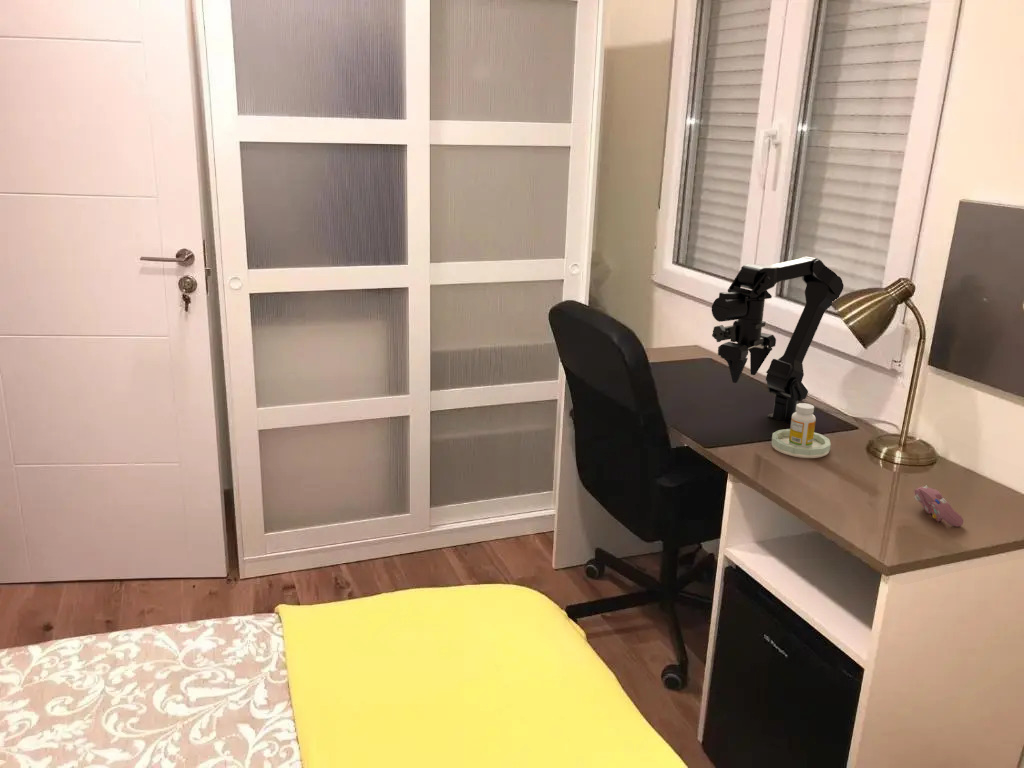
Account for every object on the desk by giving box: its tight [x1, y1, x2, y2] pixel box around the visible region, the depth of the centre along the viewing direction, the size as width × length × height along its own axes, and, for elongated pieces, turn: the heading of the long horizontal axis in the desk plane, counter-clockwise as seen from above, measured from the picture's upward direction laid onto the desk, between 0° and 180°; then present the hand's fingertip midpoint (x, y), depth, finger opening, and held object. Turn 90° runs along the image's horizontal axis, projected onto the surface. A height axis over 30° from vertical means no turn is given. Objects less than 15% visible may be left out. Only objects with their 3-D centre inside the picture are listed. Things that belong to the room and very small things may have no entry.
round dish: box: [771, 428, 831, 459], centre depth 196 cm, size 13×13×2 cm
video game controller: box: [913, 484, 964, 528], centre depth 162 cm, size 10×5×7 cm, turn 5°
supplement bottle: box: [789, 402, 817, 448], centre depth 195 cm, size 5×5×10 cm
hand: (744, 378), depth 204 cm, fingers open, 9 cm apart
